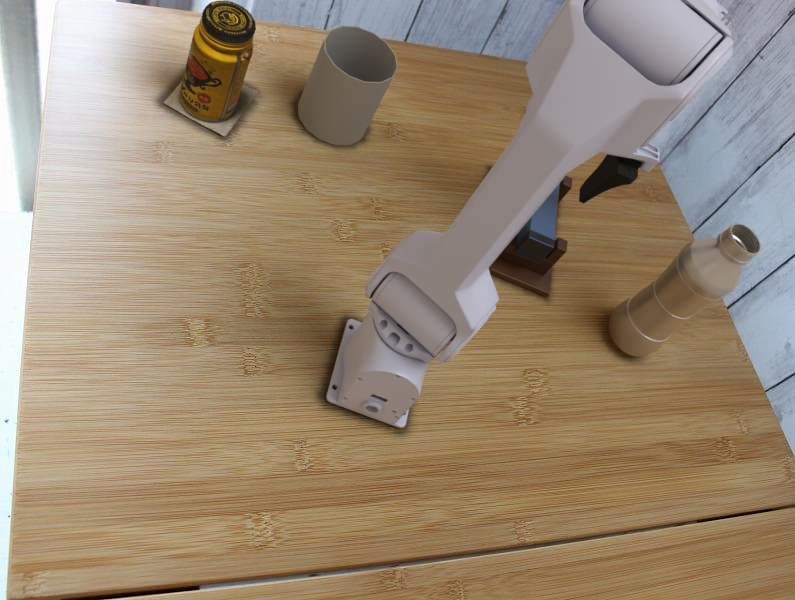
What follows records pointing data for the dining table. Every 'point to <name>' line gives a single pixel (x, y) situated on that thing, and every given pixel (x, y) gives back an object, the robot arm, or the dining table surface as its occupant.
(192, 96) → the condiment
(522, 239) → the handle
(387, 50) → the cup
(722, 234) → the plastic bottle
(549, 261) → the holder
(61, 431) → the dining table surface
